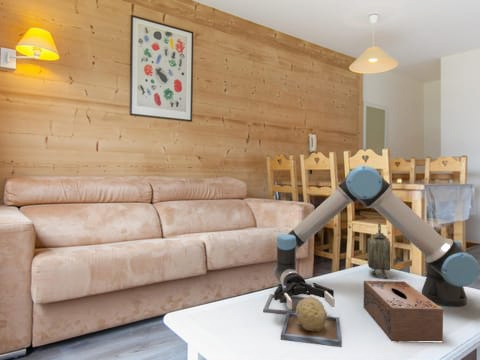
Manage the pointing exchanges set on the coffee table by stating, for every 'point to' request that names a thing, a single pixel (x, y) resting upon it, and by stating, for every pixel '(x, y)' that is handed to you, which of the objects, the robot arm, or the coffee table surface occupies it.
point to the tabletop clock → (379, 252)
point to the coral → (311, 314)
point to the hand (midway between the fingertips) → (312, 303)
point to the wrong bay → (279, 310)
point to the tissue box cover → (403, 311)
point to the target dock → (325, 336)
